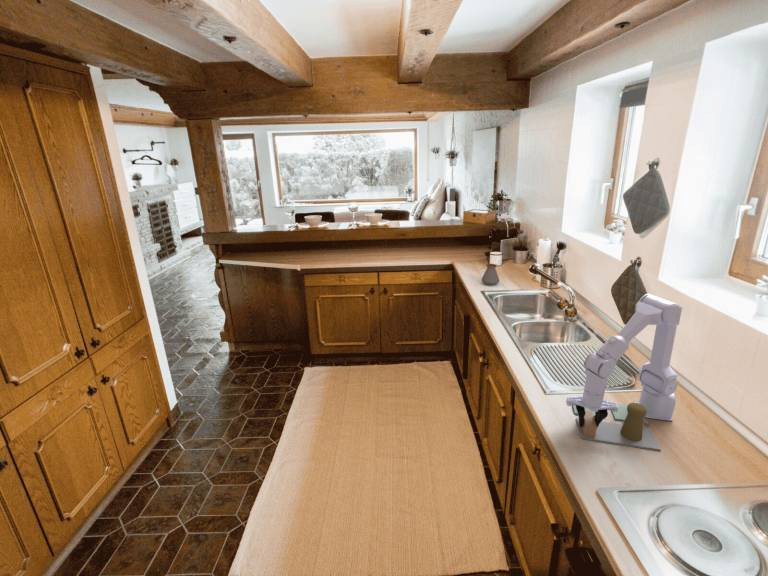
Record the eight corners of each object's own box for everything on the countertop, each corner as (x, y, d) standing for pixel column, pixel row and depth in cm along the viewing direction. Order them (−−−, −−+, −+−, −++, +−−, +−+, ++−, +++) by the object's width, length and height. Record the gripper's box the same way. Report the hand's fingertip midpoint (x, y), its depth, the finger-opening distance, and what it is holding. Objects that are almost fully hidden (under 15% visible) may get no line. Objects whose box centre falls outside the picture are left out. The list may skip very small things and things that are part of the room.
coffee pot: (500, 286, 260) (502, 264, 255) (482, 286, 260) (484, 264, 255) (493, 276, 280) (495, 255, 275) (477, 276, 280) (478, 255, 275)
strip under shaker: (649, 429, 130) (652, 417, 129) (660, 451, 121) (664, 438, 120) (576, 419, 136) (577, 407, 134) (581, 439, 127) (583, 427, 125)
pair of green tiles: (638, 407, 141) (639, 406, 141) (647, 424, 133) (647, 422, 133) (570, 399, 146) (570, 397, 146) (574, 414, 138) (575, 413, 138)
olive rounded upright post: (634, 427, 130) (641, 399, 127) (646, 440, 125) (653, 411, 121) (616, 428, 130) (622, 399, 127) (627, 441, 125) (634, 412, 121)
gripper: (571, 394, 124) (565, 430, 129) (623, 401, 120) (615, 437, 125) (567, 381, 130) (562, 416, 135) (617, 387, 127) (610, 423, 131)
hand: (587, 425), depth 130 cm, fingers open, 4 cm apart
